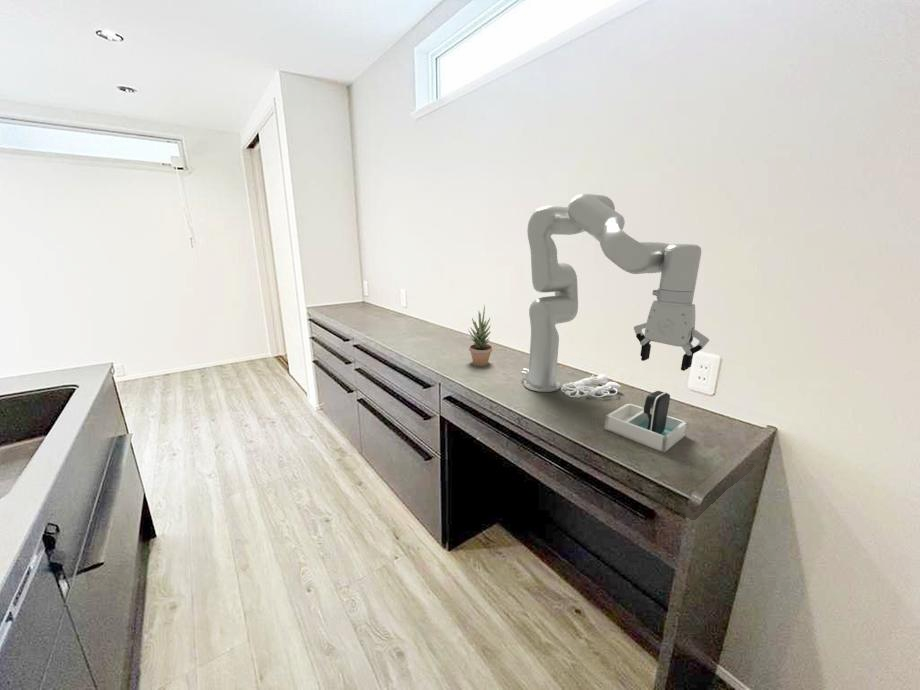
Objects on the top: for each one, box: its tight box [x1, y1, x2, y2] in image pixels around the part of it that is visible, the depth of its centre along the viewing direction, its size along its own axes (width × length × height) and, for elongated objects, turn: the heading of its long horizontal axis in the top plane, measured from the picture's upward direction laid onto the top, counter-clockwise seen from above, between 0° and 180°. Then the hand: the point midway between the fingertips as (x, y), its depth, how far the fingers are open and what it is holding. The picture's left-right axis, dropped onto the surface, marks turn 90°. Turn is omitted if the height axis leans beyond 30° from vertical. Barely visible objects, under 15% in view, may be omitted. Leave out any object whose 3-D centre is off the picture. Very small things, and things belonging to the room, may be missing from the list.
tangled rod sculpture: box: [560, 373, 622, 399], centre depth 131 cm, size 19×14×4 cm
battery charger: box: [643, 390, 671, 434], centre depth 101 cm, size 7×4×11 cm, turn 128°
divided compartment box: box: [603, 402, 688, 453], centre depth 104 cm, size 16×13×4 cm
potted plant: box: [468, 304, 493, 367], centre depth 157 cm, size 10×10×25 cm
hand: (664, 364), depth 98 cm, fingers open, 9 cm apart
